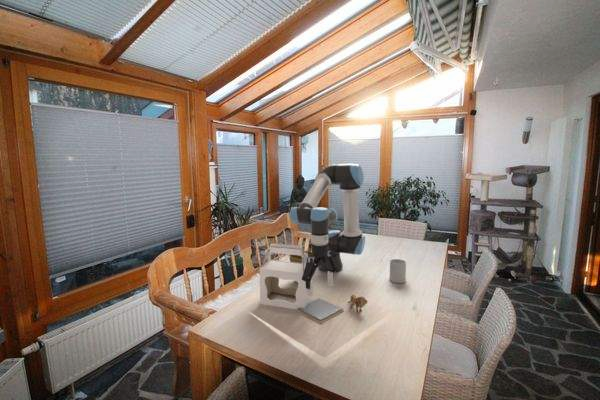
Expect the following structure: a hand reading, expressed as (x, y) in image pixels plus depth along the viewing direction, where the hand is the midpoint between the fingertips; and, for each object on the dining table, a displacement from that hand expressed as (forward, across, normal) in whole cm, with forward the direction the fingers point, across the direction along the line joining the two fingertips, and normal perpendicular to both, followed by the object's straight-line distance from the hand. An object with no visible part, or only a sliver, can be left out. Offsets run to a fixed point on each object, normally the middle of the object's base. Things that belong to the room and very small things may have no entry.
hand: (320, 290), depth 127 cm
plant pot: (+10, +16, +28) cm, 34 cm away
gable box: (+10, -5, +18) cm, 21 cm away
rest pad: (+9, -1, 0) cm, 9 cm away
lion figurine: (+10, +12, -10) cm, 19 cm away
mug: (+11, +58, -7) cm, 59 cm away
